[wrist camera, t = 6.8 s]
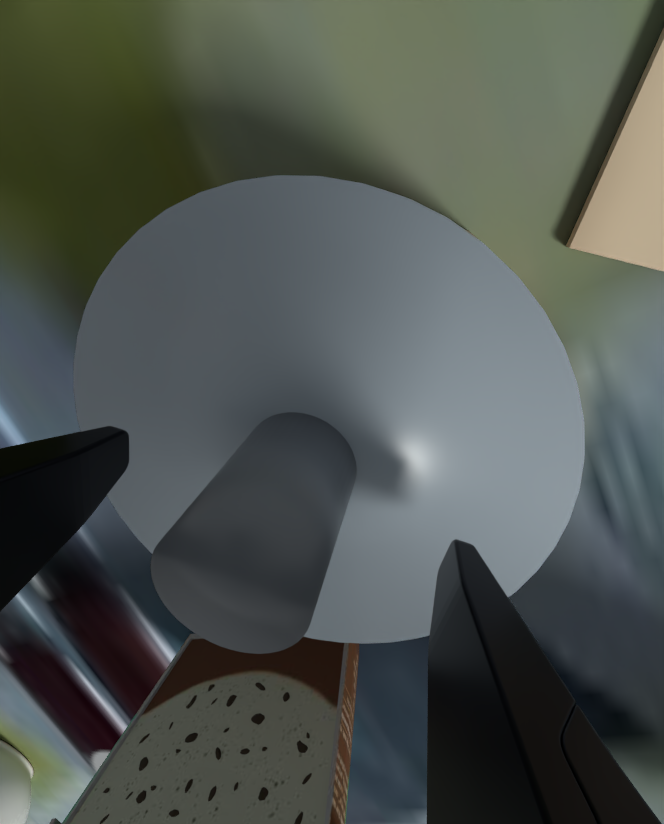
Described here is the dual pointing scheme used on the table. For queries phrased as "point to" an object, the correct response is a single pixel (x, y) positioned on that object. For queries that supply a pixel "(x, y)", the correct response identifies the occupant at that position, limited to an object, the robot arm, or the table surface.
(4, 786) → the lidded jar
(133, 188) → the table surface
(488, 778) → the robot arm
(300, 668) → the food container
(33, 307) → the table surface
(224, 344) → the lid
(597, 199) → the mat
